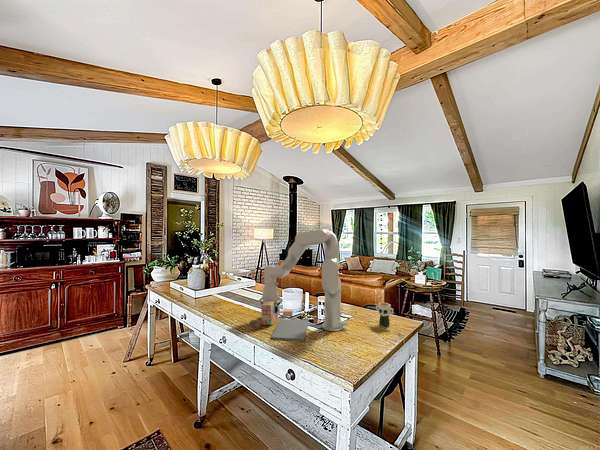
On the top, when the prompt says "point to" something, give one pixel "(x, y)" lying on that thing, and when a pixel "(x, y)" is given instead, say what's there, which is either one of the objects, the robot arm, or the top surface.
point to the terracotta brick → (287, 313)
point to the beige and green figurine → (384, 313)
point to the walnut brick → (254, 324)
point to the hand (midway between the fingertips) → (270, 312)
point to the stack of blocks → (269, 312)
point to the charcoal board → (291, 330)
